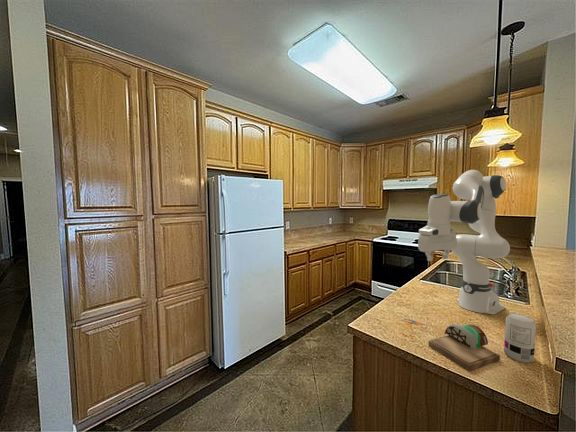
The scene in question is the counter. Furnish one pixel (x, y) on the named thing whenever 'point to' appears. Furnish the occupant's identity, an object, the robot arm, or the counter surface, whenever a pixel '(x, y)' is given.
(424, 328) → the key chain
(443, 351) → the base
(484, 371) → the counter surface
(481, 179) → the robot arm
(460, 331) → the food container
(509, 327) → the supplement can
